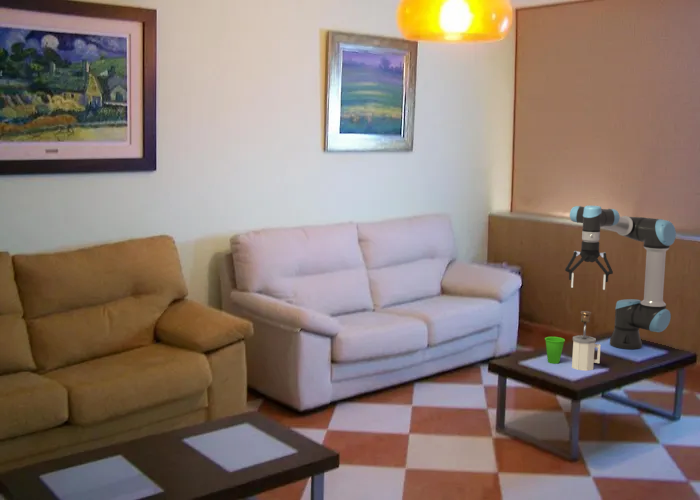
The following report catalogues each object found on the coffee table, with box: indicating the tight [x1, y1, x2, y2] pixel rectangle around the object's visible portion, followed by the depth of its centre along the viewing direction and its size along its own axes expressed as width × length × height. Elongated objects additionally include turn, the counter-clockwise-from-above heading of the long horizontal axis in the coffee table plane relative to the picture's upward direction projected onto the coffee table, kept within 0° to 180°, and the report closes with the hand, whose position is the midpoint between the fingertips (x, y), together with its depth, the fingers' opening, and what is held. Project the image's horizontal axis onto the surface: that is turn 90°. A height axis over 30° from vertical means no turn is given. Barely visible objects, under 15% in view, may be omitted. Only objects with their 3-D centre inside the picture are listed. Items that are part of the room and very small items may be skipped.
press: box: [571, 334, 601, 372], centre depth 367 cm, size 10×12×14 cm
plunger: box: [580, 310, 592, 339], centre depth 366 cm, size 6×6×22 cm
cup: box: [544, 336, 566, 365], centre depth 374 cm, size 9×9×11 cm
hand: (587, 288), depth 363 cm, fingers open, 13 cm apart
